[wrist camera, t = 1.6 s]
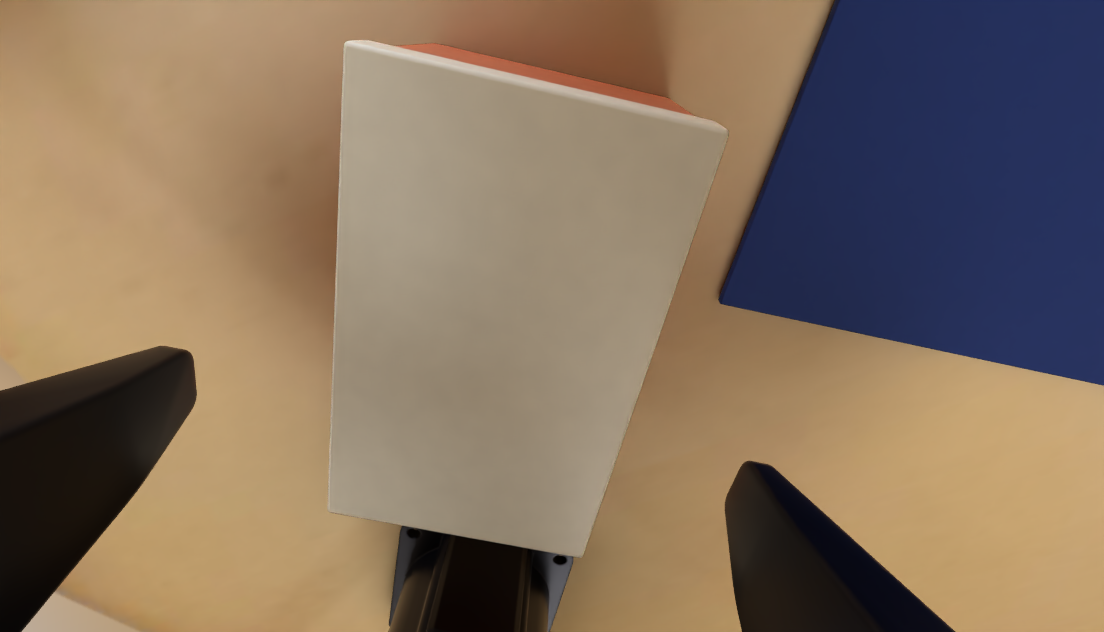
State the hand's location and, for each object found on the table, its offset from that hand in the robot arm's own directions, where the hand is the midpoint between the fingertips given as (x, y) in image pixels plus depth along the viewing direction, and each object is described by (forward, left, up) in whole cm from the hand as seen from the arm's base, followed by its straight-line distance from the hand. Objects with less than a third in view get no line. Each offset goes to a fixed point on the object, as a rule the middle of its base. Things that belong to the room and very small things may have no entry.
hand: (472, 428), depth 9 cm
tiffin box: (0, 0, -8) cm, 8 cm away
